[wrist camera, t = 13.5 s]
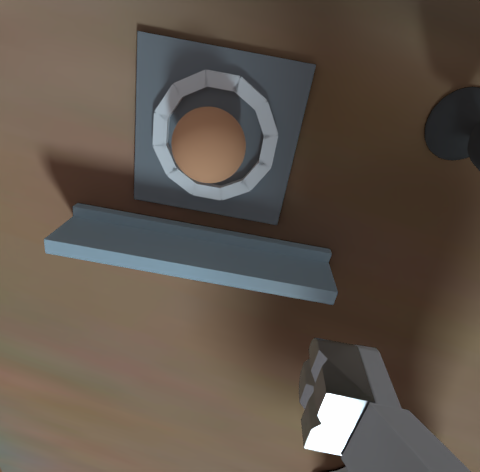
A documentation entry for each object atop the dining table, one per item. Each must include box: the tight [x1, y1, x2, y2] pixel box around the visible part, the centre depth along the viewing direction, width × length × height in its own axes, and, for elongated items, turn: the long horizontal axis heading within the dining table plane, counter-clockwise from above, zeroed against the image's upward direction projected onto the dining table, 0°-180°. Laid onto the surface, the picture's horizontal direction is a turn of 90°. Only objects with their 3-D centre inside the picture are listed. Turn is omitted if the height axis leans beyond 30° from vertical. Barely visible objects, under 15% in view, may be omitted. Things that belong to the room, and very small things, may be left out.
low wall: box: [44, 203, 338, 305], centre depth 27 cm, size 3×22×5 cm, turn 81°
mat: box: [134, 31, 316, 225], centre depth 25 cm, size 12×12×1 cm
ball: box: [171, 106, 246, 183], centre depth 23 cm, size 5×5×5 cm
